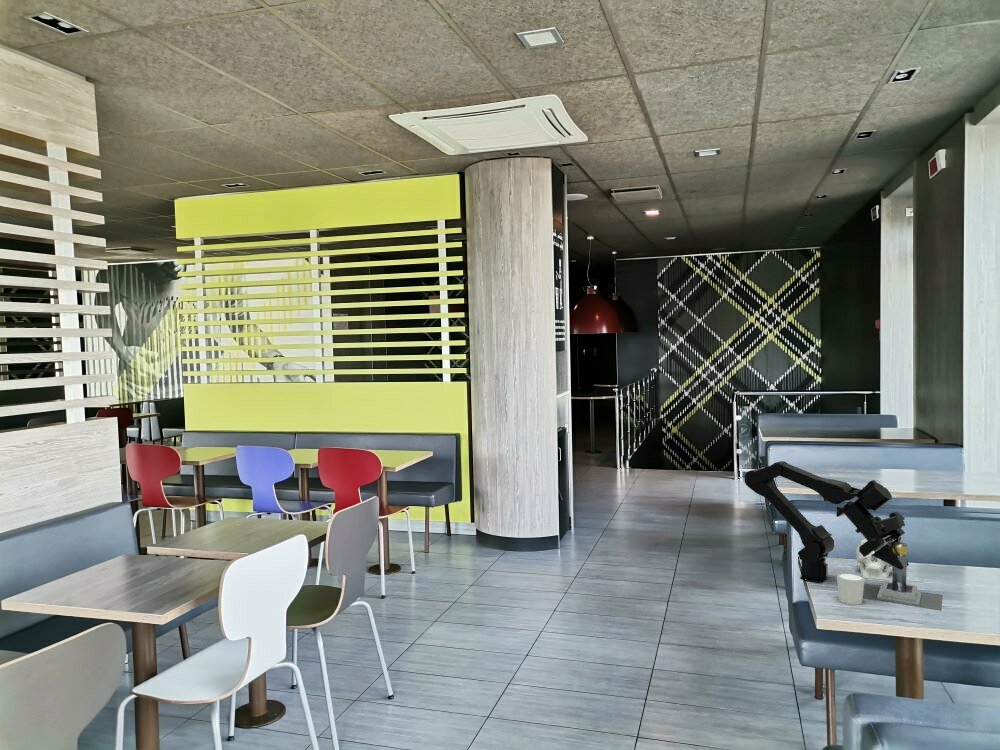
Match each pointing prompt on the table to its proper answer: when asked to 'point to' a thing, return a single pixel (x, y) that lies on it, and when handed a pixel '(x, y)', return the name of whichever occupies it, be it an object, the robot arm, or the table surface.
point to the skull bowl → (872, 565)
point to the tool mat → (926, 602)
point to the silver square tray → (899, 594)
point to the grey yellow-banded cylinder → (898, 574)
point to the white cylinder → (850, 588)
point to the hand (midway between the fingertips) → (904, 567)
